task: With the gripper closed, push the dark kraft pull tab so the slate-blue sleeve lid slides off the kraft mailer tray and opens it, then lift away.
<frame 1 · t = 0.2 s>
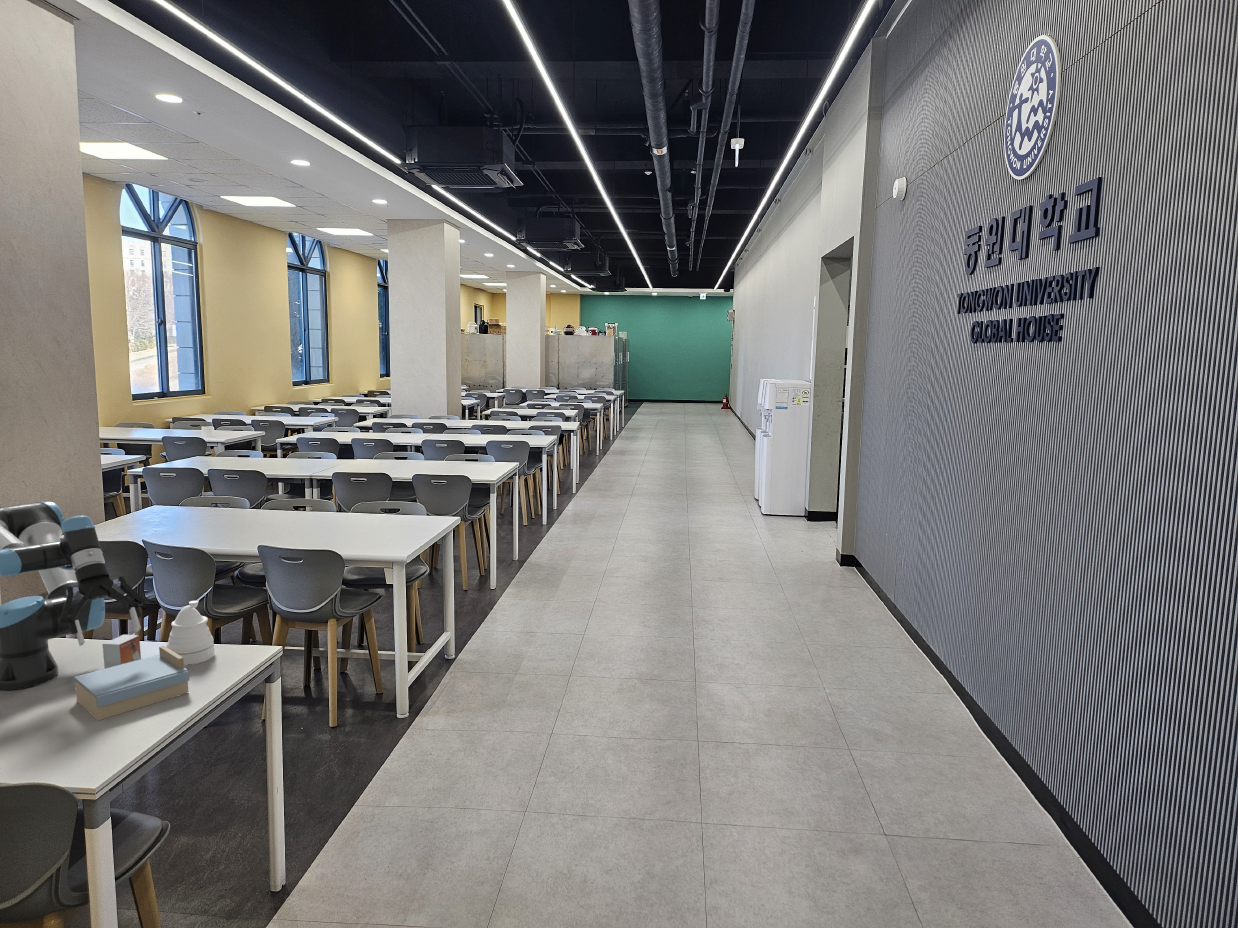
hand: (110, 636, 214), 16 cm above the table, tool tilted 35°, fingers open, 13 cm apart
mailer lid: (131, 673, 213), point 7 cm above the table, slide at 0.0 cm
small box: (124, 673, 230), on the table
mailer tray: (133, 696, 214), on the table
honey pot: (191, 658, 242), on the table
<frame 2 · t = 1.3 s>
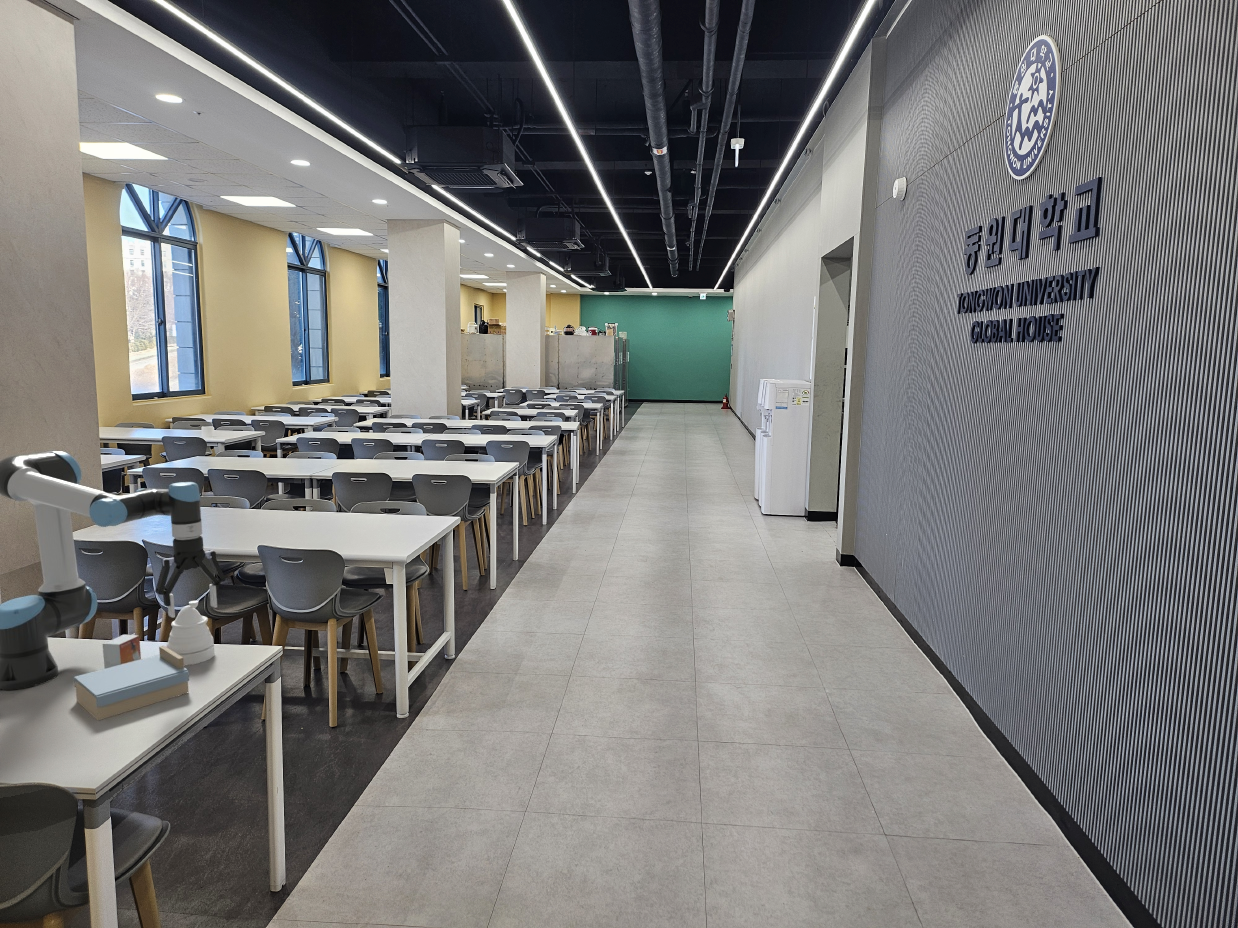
hand: (193, 611, 224), 20 cm above the table, tool pointing down, fingers open, 11 cm apart
nothing on the table moved.
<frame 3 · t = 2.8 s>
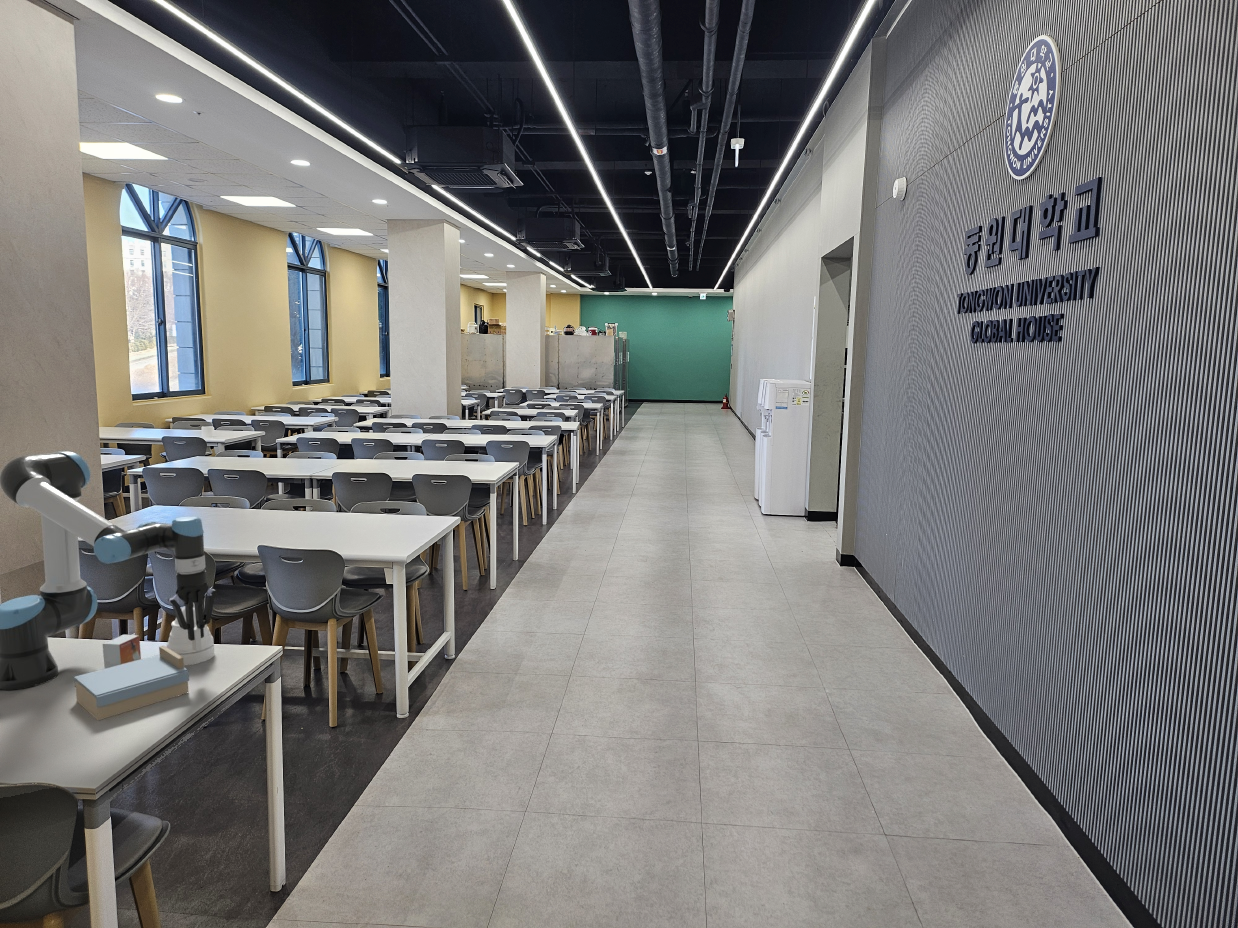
hand: (197, 649, 225), 9 cm above the table, tool pointing down, fingers closed
nothing on the table moved.
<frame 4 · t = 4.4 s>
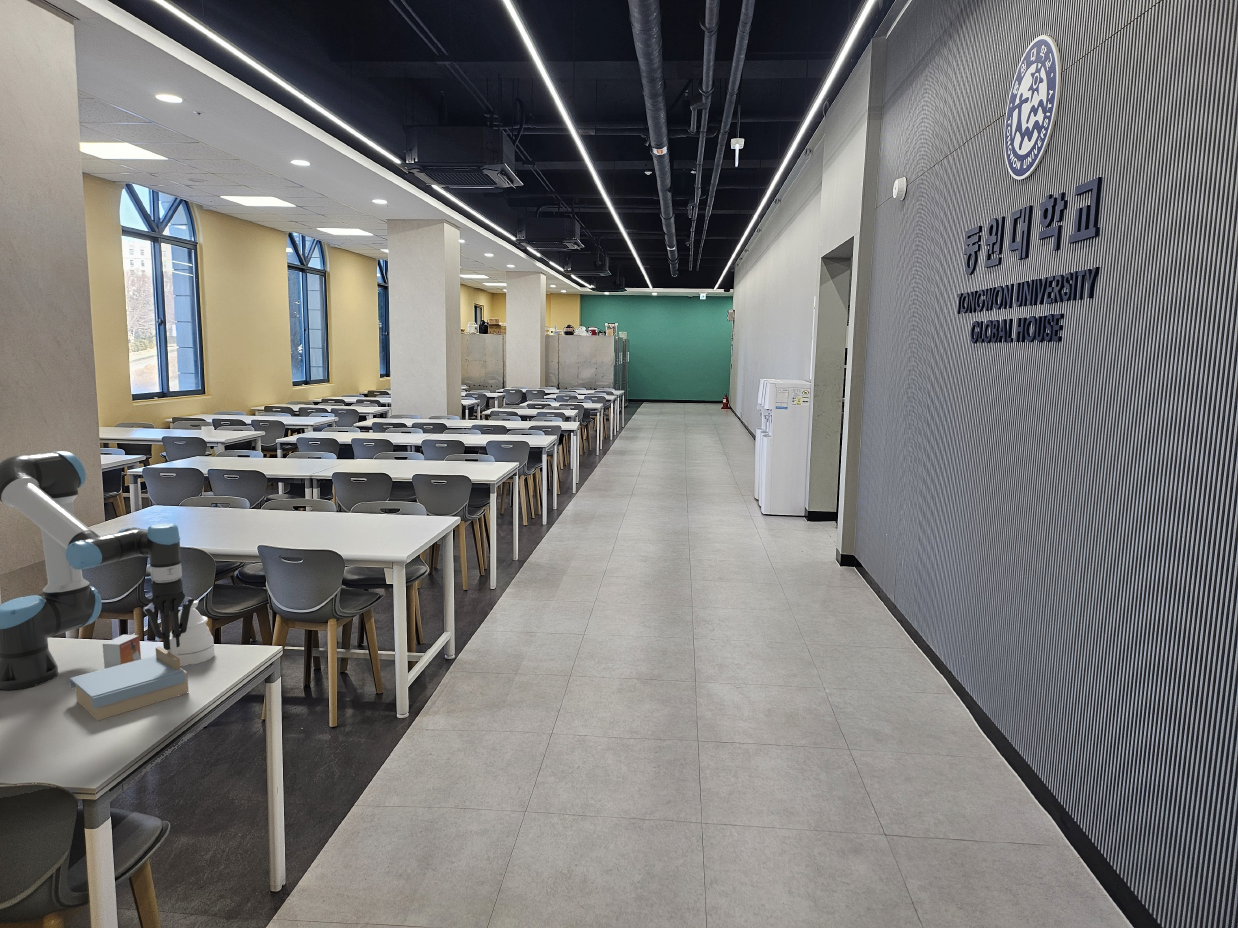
hand: (172, 658, 221), 8 cm above the table, tool pointing down, fingers closed
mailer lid: (127, 674, 212), point 7 cm above the table, slide at 1.0 cm, touching gripper
everything else where it was.
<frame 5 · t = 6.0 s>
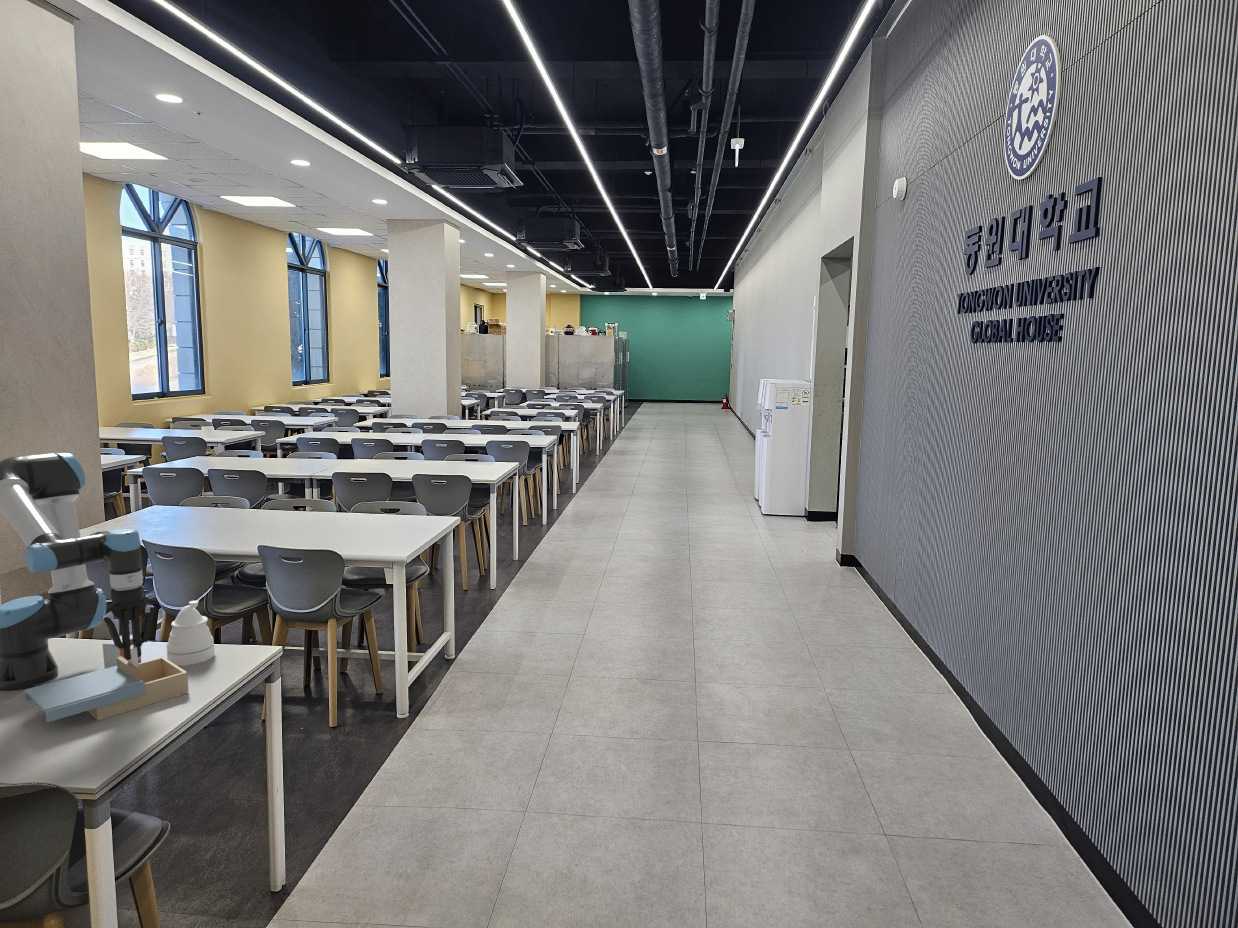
hand: (133, 669, 213), 8 cm above the table, tool pointing down, fingers closed
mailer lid: (85, 685, 205), point 7 cm above the table, slide at 10.9 cm, touching gripper
everything else where it was.
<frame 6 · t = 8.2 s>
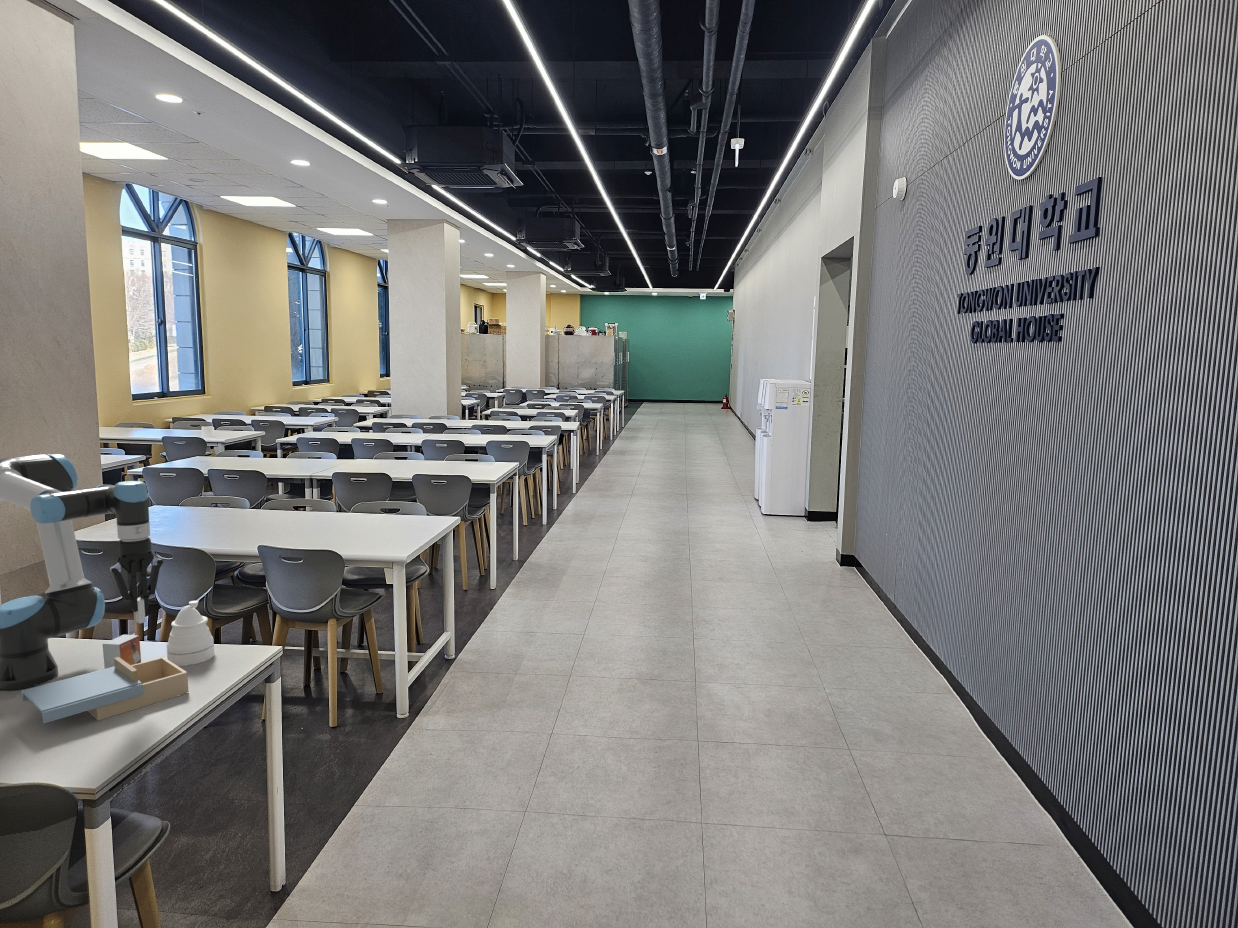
hand: (140, 621, 214), 20 cm above the table, tool pointing down, fingers closed
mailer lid: (82, 686, 204), point 7 cm above the table, slide at 11.5 cm
everything else where it was.
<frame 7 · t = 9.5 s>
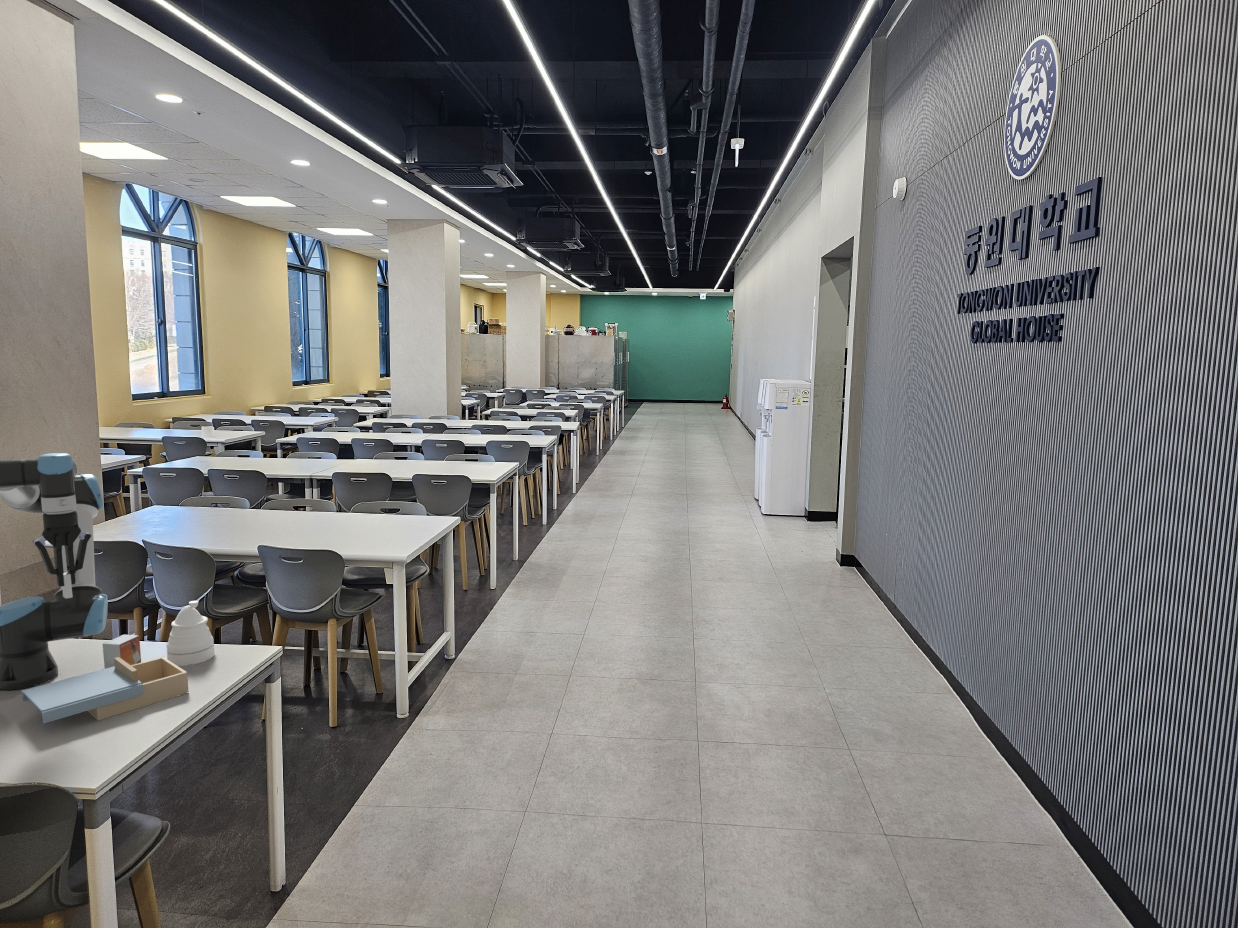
hand: (67, 596, 210), 28 cm above the table, tool pointing down, fingers closed
nothing on the table moved.
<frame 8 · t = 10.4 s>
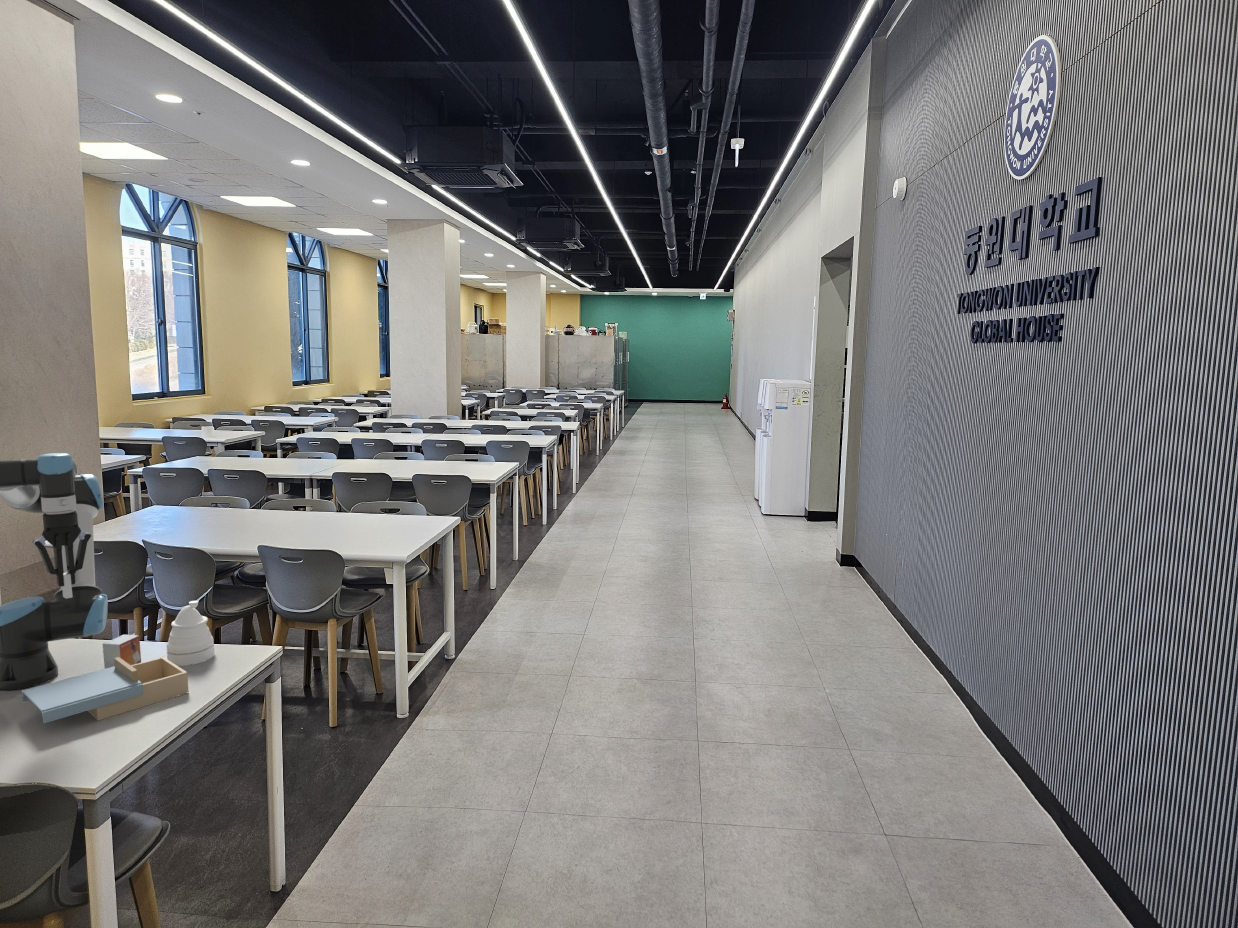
hand: (67, 596, 210), 28 cm above the table, tool pointing down, fingers closed
nothing on the table moved.
at the end: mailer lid slide at 11.5 cm; honey pot moved 0.3 cm from its start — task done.
